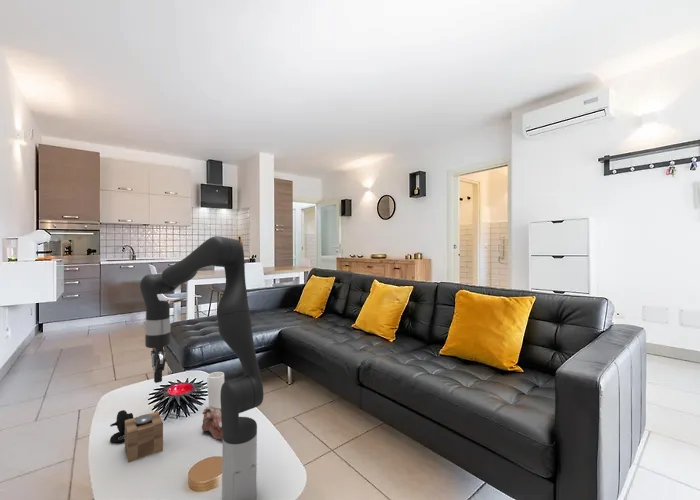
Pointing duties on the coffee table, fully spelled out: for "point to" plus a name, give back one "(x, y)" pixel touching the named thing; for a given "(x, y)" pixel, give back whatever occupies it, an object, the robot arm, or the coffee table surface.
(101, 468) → the coffee table surface
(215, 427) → the rock
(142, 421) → the pin
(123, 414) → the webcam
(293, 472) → the coffee table surface
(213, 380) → the drinking glass
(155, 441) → the block
